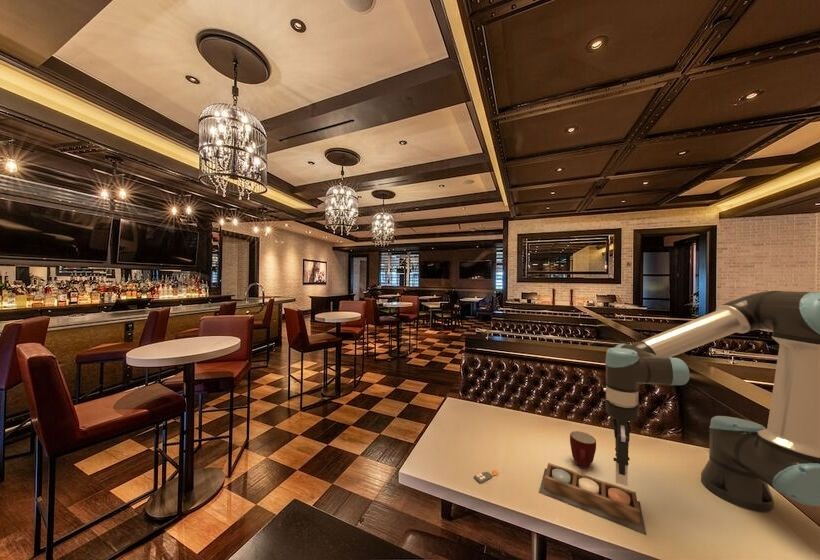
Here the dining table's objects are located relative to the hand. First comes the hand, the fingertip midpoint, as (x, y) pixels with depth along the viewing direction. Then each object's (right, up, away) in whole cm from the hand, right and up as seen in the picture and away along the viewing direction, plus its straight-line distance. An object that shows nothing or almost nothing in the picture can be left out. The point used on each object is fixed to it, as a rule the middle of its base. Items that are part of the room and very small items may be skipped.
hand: (621, 482), depth 83 cm
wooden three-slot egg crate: (-7, -8, +4) cm, 11 cm away
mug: (0, -8, +18) cm, 20 cm away
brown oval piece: (-1, -7, 0) cm, 7 cm away
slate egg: (-13, -6, +8) cm, 17 cm away
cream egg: (-7, -7, +4) cm, 10 cm away
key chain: (-34, -8, +14) cm, 38 cm away
